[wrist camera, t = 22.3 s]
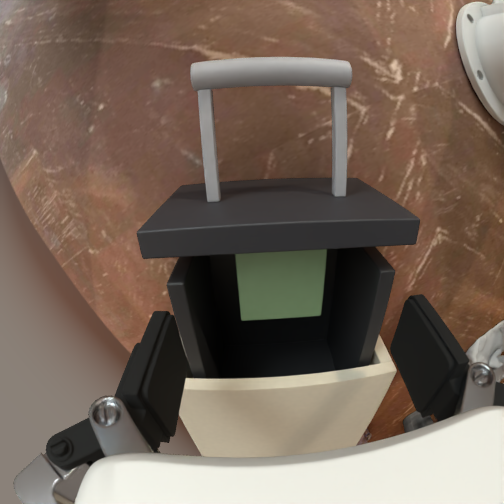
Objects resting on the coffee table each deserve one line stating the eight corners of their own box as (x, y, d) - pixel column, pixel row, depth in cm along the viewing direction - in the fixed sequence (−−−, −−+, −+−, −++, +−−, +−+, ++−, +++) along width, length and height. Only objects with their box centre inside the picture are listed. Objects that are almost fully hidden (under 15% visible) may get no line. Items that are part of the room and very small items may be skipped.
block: (237, 216, 17) (233, 248, 13) (309, 213, 17) (327, 243, 13) (242, 278, 19) (241, 321, 15) (307, 275, 19) (321, 316, 15)
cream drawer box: (192, 289, 22) (165, 387, 13) (350, 280, 21) (397, 370, 13) (217, 394, 28) (211, 470, 19) (329, 387, 28) (345, 460, 19)
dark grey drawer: (171, 83, 14) (114, 59, 7) (356, 77, 14) (425, 57, 7) (208, 343, 23) (196, 419, 16) (339, 334, 23) (363, 407, 16)
